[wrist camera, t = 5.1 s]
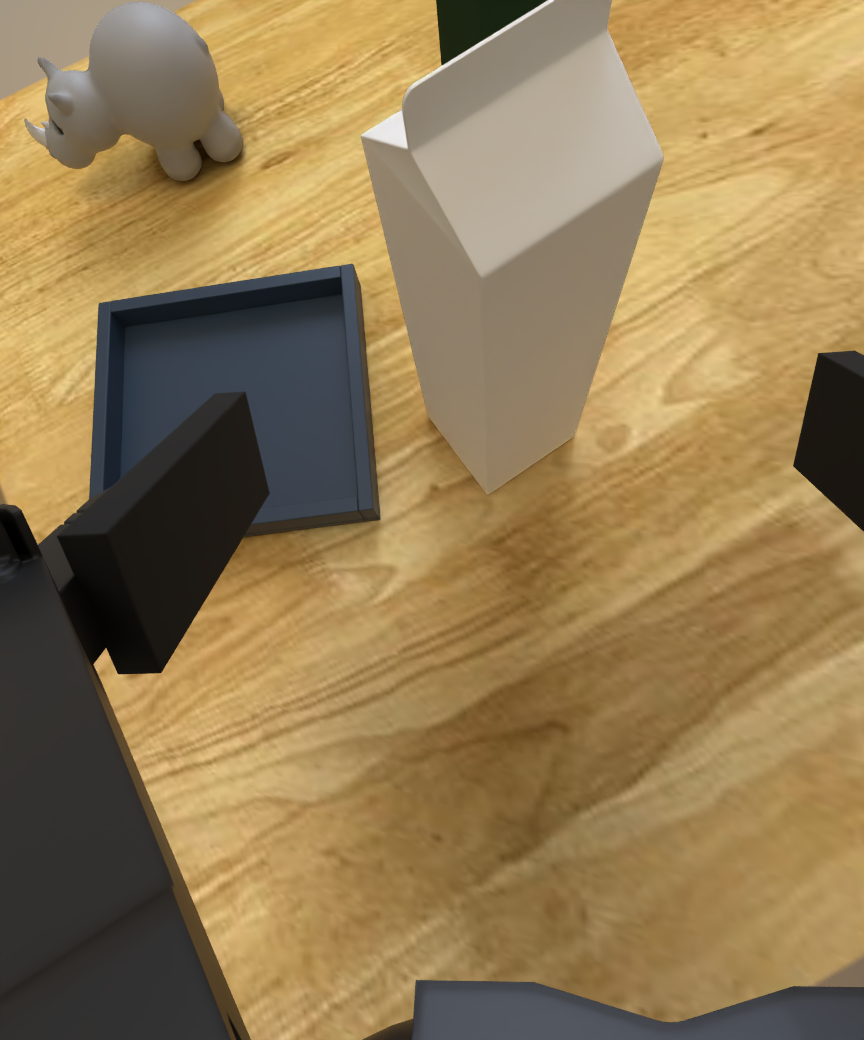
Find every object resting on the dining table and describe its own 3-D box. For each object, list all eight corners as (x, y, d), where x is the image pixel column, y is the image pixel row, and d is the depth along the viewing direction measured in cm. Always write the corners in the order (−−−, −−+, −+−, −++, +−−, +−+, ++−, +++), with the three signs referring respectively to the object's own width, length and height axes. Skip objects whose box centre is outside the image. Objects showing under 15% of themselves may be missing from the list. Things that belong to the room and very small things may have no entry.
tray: (360, 285, 38) (353, 262, 36) (380, 519, 34) (373, 508, 32) (118, 322, 39) (98, 302, 37) (109, 554, 35) (86, 546, 33)
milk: (427, 416, 36) (323, 16, 14) (513, 359, 36) (534, -114, 15) (488, 498, 34) (473, 181, 13) (578, 437, 34) (707, 30, 13)
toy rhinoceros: (69, 154, 43) (-29, 30, 35) (228, 90, 44) (167, -49, 35) (92, 232, 41) (-7, 120, 33) (259, 164, 42) (201, 36, 33)
